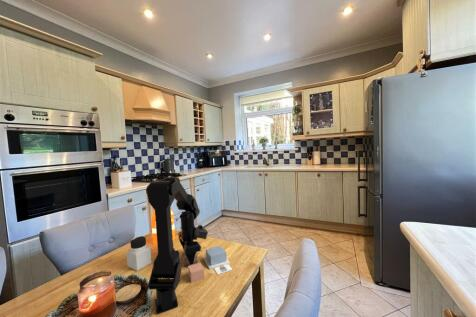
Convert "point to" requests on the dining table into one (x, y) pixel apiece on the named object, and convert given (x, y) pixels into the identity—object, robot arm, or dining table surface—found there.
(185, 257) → the walnut brick
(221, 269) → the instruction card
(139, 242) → the medicine bottle
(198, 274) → the terracotta brick
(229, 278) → the dining table surface
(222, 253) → the grey square block
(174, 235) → the orange juice
